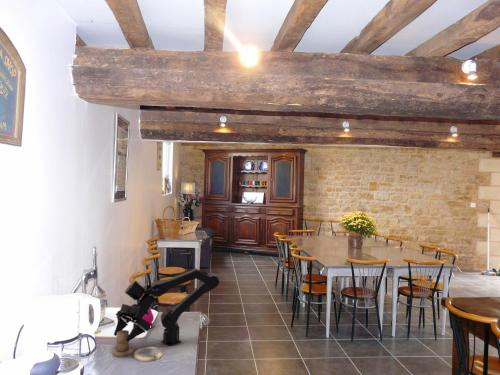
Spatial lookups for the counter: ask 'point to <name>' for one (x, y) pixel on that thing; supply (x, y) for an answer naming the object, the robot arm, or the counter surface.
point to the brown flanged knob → (122, 345)
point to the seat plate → (148, 354)
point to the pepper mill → (149, 317)
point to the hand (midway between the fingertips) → (120, 338)
